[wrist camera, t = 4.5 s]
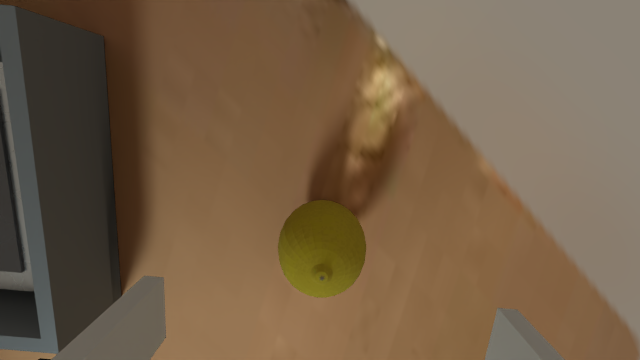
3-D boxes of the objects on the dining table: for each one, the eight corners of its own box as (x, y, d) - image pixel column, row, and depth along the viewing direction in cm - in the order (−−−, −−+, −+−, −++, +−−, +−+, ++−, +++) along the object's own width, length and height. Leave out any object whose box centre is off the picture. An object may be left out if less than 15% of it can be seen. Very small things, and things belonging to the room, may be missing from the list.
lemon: (324, 268, 24) (323, 343, 16) (272, 223, 23) (245, 279, 15) (373, 221, 23) (398, 276, 15) (320, 172, 22) (318, 205, 14)
